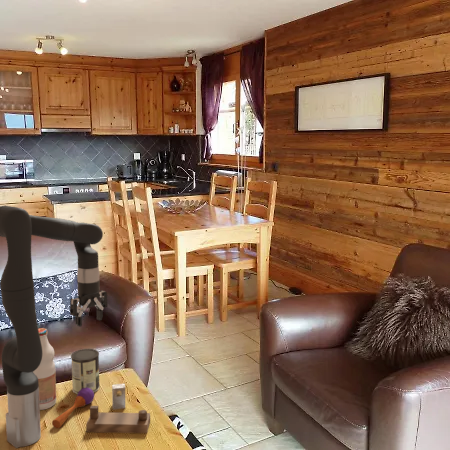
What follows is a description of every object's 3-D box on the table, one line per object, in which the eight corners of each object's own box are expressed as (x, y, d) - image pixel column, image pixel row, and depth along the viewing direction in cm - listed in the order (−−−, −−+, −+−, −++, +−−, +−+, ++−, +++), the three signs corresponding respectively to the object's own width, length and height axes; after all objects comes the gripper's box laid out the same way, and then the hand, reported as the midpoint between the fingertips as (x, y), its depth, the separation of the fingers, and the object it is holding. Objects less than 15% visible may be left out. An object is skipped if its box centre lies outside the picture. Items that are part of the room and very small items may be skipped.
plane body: (86, 432, 163) (85, 412, 162) (91, 420, 170) (91, 401, 169) (147, 433, 163) (147, 413, 162) (150, 421, 170) (150, 402, 169)
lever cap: (112, 410, 177) (112, 389, 175) (112, 405, 180) (112, 384, 178) (125, 408, 178) (125, 387, 176) (124, 403, 181) (124, 383, 180)
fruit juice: (46, 412, 174) (44, 337, 169) (23, 408, 176) (19, 334, 171) (61, 399, 183) (59, 327, 178) (39, 395, 185) (36, 324, 180)
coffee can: (86, 379, 198) (85, 346, 196) (105, 386, 193) (104, 352, 191) (66, 390, 190) (65, 355, 187) (85, 397, 184) (84, 362, 182)
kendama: (46, 415, 165) (81, 384, 184) (51, 431, 166) (85, 398, 185) (61, 416, 163) (95, 384, 182) (65, 432, 164) (98, 399, 183)
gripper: (77, 285, 167) (78, 331, 170) (111, 277, 178) (112, 320, 181) (64, 281, 172) (66, 325, 174) (98, 273, 183) (99, 315, 185)
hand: (89, 322), depth 178 cm, fingers open, 8 cm apart
